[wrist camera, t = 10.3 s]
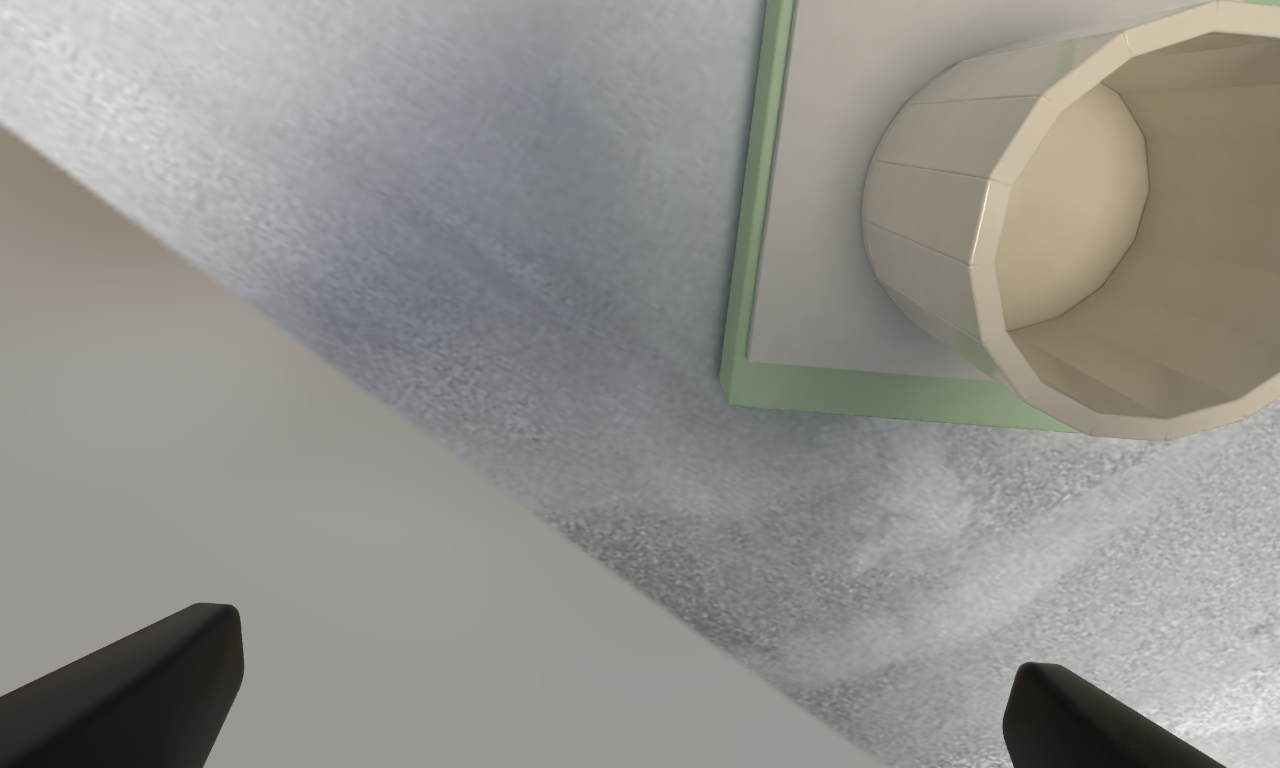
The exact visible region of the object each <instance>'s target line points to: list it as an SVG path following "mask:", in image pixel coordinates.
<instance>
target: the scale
mask: <svg viewBox="0 0 1280 768" xmlns="http://www.w3.org/2000/svg"><path fill="white" fill-rule="evenodd" d="M1208 1H1216V0H767V4H766V12H765V20H764V28H763V36H762V43H761V51H760V59H759V67H758V75H757V83H756V91H755V99H754V107H753V114H752V122H751V130H750V138H749V146H748V154H747V162H746V170H745V177H744V185H743V193H742V201H741V209H740V217H739V225H738V233H737V241H736V248H735V256H734V264H733V272H732V280H731V288H730V296H729V304H728V311H727V319H726V327H725V335H724V343H723V351H722V359H721V367H720V375H719V380H720V384H721V387H722V390H723V393H724V396H725V399H726V402H727V404H728V405H730V406H741V407H754V408H767V409H779V410H792V411H804V412H817V413H830V414H842V415H855V416H867V417H880V418H892V419H905V420H918V421H930V422H943V423H955V424H968V425H981V426H993V427H1006V428H1018V429H1031V430H1044V431H1056V432H1069V433H1081V432H1079V431H1077V430H1075V429H1073V428H1072V427H1070V426H1068V425H1066V424H1064V423H1062V422H1060V421H1058V420H1056V419H1055V418H1053V417H1051V416H1049V415H1047V414H1045V413H1043V412H1041V411H1040V410H1038V409H1036V408H1034V407H1032V406H1030V405H1028V404H1026V403H1025V402H1023V401H1022V400H1021V399H1019V398H1018V397H1016V396H1015V395H1014V394H1012V393H1011V392H1009V391H1008V390H1007V389H1005V388H1004V387H1002V386H1001V385H1000V384H998V383H997V382H995V381H994V380H993V379H991V378H990V377H989V376H987V375H986V374H984V373H983V372H982V371H980V370H979V369H977V368H976V367H975V366H973V365H972V364H970V363H969V362H968V361H966V360H965V359H963V358H962V357H961V356H959V355H958V354H956V353H955V352H954V351H952V350H951V349H949V348H948V347H947V346H945V345H944V344H942V343H941V342H940V341H938V340H937V339H935V338H934V337H933V336H931V335H930V334H928V333H927V332H926V331H924V330H923V329H921V328H920V327H919V326H917V325H916V324H914V323H913V322H912V321H910V319H908V318H907V317H906V315H905V314H904V313H903V311H902V310H900V309H899V308H898V307H897V306H896V305H895V304H894V302H893V301H892V300H891V299H890V298H889V297H888V296H887V294H886V293H885V292H884V290H883V288H882V287H881V285H880V284H879V282H878V281H877V279H876V277H875V275H874V272H873V270H872V268H871V266H870V264H869V260H868V257H867V253H866V250H865V247H864V241H863V234H862V224H861V207H862V197H863V189H864V185H865V181H866V176H867V172H868V169H869V166H870V163H871V161H872V158H873V155H874V153H875V150H876V148H877V146H878V144H879V142H880V140H881V138H882V136H883V135H884V133H885V131H886V130H887V128H888V127H889V125H890V124H891V122H892V121H893V119H894V118H895V116H896V115H897V113H898V112H899V111H900V110H901V109H902V108H903V106H904V105H905V104H906V103H907V102H908V101H909V99H910V98H911V97H912V96H913V95H914V94H916V93H917V92H918V91H919V90H920V89H921V88H922V87H923V86H924V85H925V84H926V83H928V82H929V81H930V80H932V79H933V78H935V77H936V76H937V75H939V74H940V73H941V72H943V71H944V70H946V69H948V68H950V67H952V66H953V65H955V64H957V63H959V62H961V61H962V60H965V59H967V58H970V57H972V56H975V55H977V54H980V53H982V52H986V51H990V50H994V49H998V48H1001V47H1004V46H1007V45H1010V44H1013V43H1016V42H1019V41H1023V40H1028V39H1033V38H1037V37H1042V36H1047V35H1052V34H1056V33H1061V32H1066V31H1071V30H1075V29H1080V28H1085V27H1089V26H1094V25H1099V24H1104V23H1108V22H1113V21H1118V20H1123V19H1127V18H1132V17H1137V16H1142V15H1146V14H1151V13H1156V12H1161V11H1165V10H1170V9H1175V8H1180V7H1184V6H1189V5H1194V4H1199V3H1203V2H1208ZM1228 1H1238V2H1248V3H1258V4H1269V5H1279V6H1280V0H1228ZM1081 434H1083V433H1081Z"/></svg>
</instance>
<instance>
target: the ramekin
mask: <svg viewBox="0 0 1280 768" xmlns="http://www.w3.org/2000/svg"><path fill="white" fill-rule="evenodd" d="M861 224H862V234H863V241H864V247H865V250H866V253H867V257H868V260H869V264H870V266H871V268H872V270H873V272H874V275H875V277H876V279H877V281H878V282H879V284H880V285H881V287H882V288H883V290H884V292H885V293H886V294H887V296H888V297H889V298H890V299H891V300H892V301H893V302H894V304H895V305H896V306H897V307H898V308H899V309H900V310H902V311H903V313H904V314H905V315H906V317H907V318H908V319H910V321H912V322H913V323H914V324H916V325H917V326H919V327H920V328H921V329H923V330H924V331H926V332H927V333H928V334H930V335H931V336H933V337H934V338H935V339H937V340H938V341H940V342H941V343H942V344H944V345H945V346H947V347H948V348H949V349H951V350H952V351H954V352H955V353H956V354H958V355H959V356H961V357H962V358H963V359H965V360H966V361H968V362H969V363H970V364H972V365H973V366H975V367H976V368H977V369H979V370H980V371H982V372H983V373H984V374H986V375H987V376H989V377H990V378H991V379H993V380H994V381H995V382H997V383H998V384H1000V385H1001V386H1002V387H1004V388H1005V389H1007V390H1008V391H1009V392H1011V393H1012V394H1014V395H1015V396H1016V397H1018V398H1019V399H1021V400H1022V401H1023V402H1025V403H1026V404H1028V405H1030V406H1032V407H1034V408H1036V409H1038V410H1040V411H1041V412H1043V413H1045V414H1047V415H1049V416H1051V417H1053V418H1055V419H1056V420H1058V421H1060V422H1062V423H1064V424H1066V425H1068V426H1070V427H1072V428H1073V429H1075V430H1077V431H1079V432H1081V433H1083V434H1085V435H1089V436H1097V437H1109V438H1122V439H1135V440H1148V441H1161V442H1162V441H1170V440H1173V439H1177V438H1181V437H1184V436H1188V435H1191V434H1195V433H1199V432H1202V431H1206V430H1209V429H1213V428H1217V427H1220V426H1224V425H1227V424H1231V423H1235V422H1238V421H1242V420H1244V418H1248V417H1250V416H1251V415H1253V414H1255V413H1256V412H1258V411H1259V410H1261V409H1262V408H1264V407H1265V406H1267V405H1268V404H1270V403H1271V402H1273V401H1274V400H1276V399H1278V398H1279V397H1280V6H1279V5H1269V4H1258V3H1248V2H1238V1H1228V0H1216V1H1208V2H1203V3H1199V4H1194V5H1189V6H1184V7H1180V8H1175V9H1170V10H1165V11H1161V12H1156V13H1151V14H1146V15H1142V16H1137V17H1132V18H1127V19H1123V20H1118V21H1113V22H1108V23H1104V24H1099V25H1094V26H1089V27H1085V28H1080V29H1075V30H1071V31H1066V32H1061V33H1056V34H1052V35H1047V36H1042V37H1037V38H1033V39H1028V40H1023V41H1019V42H1016V43H1013V44H1010V45H1007V46H1004V47H1001V48H998V49H994V50H990V51H986V52H982V53H980V54H977V55H975V56H972V57H970V58H967V59H965V60H962V61H961V62H959V63H957V64H955V65H953V66H952V67H950V68H948V69H946V70H944V71H943V72H941V73H940V74H939V75H937V76H936V77H935V78H933V79H932V80H930V81H929V82H928V83H926V84H925V85H924V86H923V87H922V88H921V89H920V90H919V91H918V92H917V93H916V94H914V95H913V96H912V97H911V98H910V99H909V101H908V102H907V103H906V104H905V105H904V106H903V108H902V109H901V110H900V111H899V112H898V113H897V115H896V116H895V118H894V119H893V121H892V122H891V124H890V125H889V127H888V128H887V130H886V131H885V133H884V135H883V136H882V138H881V140H880V142H879V144H878V146H877V148H876V150H875V153H874V155H873V158H872V161H871V163H870V166H869V169H868V172H867V176H866V181H865V185H864V189H863V197H862V207H861Z"/></svg>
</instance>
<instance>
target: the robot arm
mask: <svg viewBox="0 0 1280 768" xmlns="http://www.w3.org/2000/svg"><path fill="white" fill-rule="evenodd" d="M243 656H244V655H243V644H242V633H241V622H240V616H239V612H238V610H237V609H236V608H235V607H234V606H232V605H227V604H214V603H196V604H193V605H191V606H189V607H187V608H185V609H183V610H181V611H179V612H177V613H175V614H172V615H170V616H168V617H166V618H164V619H162V620H160V621H158V622H156V623H154V624H152V625H150V626H147V627H145V628H143V629H141V630H139V631H137V632H135V633H133V634H131V635H129V636H126V637H124V638H122V639H120V640H118V641H116V642H114V643H112V644H110V645H108V646H106V647H103V648H101V649H99V650H97V651H95V652H93V653H91V654H89V655H87V656H85V657H83V658H81V659H78V660H77V661H74V662H72V663H70V664H68V665H66V666H64V667H62V668H60V669H58V670H56V671H53V672H51V673H49V674H47V675H45V676H43V677H41V678H39V679H37V680H35V681H33V682H30V683H28V684H26V685H24V686H22V687H20V688H18V689H16V690H14V691H12V692H10V693H8V694H5V695H4V696H1V697H0V768H203V766H204V764H205V762H206V760H207V758H208V755H209V753H210V751H211V749H212V747H213V745H214V743H215V740H216V738H217V736H218V734H219V732H220V730H221V728H222V725H223V723H224V721H225V719H226V717H227V714H228V712H229V710H230V708H231V706H232V703H233V702H234V699H235V697H236V695H237V693H238V691H239V688H240V686H241V683H242V679H243V675H244V657H243ZM1003 735H1004V740H1005V743H1006V746H1007V749H1008V752H1009V755H1010V757H1011V760H1012V763H1013V766H1014V768H1226V767H1225V766H1223V765H1222V764H1220V763H1218V762H1217V761H1215V760H1214V759H1212V758H1210V757H1209V756H1207V755H1206V754H1204V753H1202V752H1201V751H1199V750H1197V749H1196V748H1194V747H1193V746H1191V745H1189V744H1188V743H1186V742H1185V741H1183V740H1181V739H1180V738H1178V737H1176V736H1175V735H1173V734H1172V733H1170V732H1168V731H1167V730H1165V729H1164V728H1162V727H1160V726H1159V725H1157V724H1155V723H1154V722H1152V721H1151V720H1149V719H1147V718H1146V717H1144V716H1143V715H1141V714H1139V713H1138V712H1136V711H1134V710H1133V709H1131V708H1130V707H1128V706H1126V705H1125V704H1123V703H1122V702H1120V701H1118V700H1117V699H1115V698H1113V697H1112V696H1110V695H1109V694H1107V693H1105V692H1104V691H1102V690H1101V689H1099V688H1097V687H1096V686H1094V685H1092V684H1091V683H1089V682H1088V681H1086V680H1084V679H1083V678H1081V677H1080V676H1078V675H1076V674H1075V673H1073V672H1071V671H1070V670H1068V669H1067V668H1065V667H1063V666H1061V665H1058V664H1050V663H1036V662H1027V663H1024V664H1022V665H1021V666H1020V667H1019V669H1018V671H1017V673H1016V676H1015V680H1014V683H1013V686H1012V690H1011V693H1010V696H1009V700H1008V703H1007V706H1006V710H1005V713H1004V717H1003Z"/></svg>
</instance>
